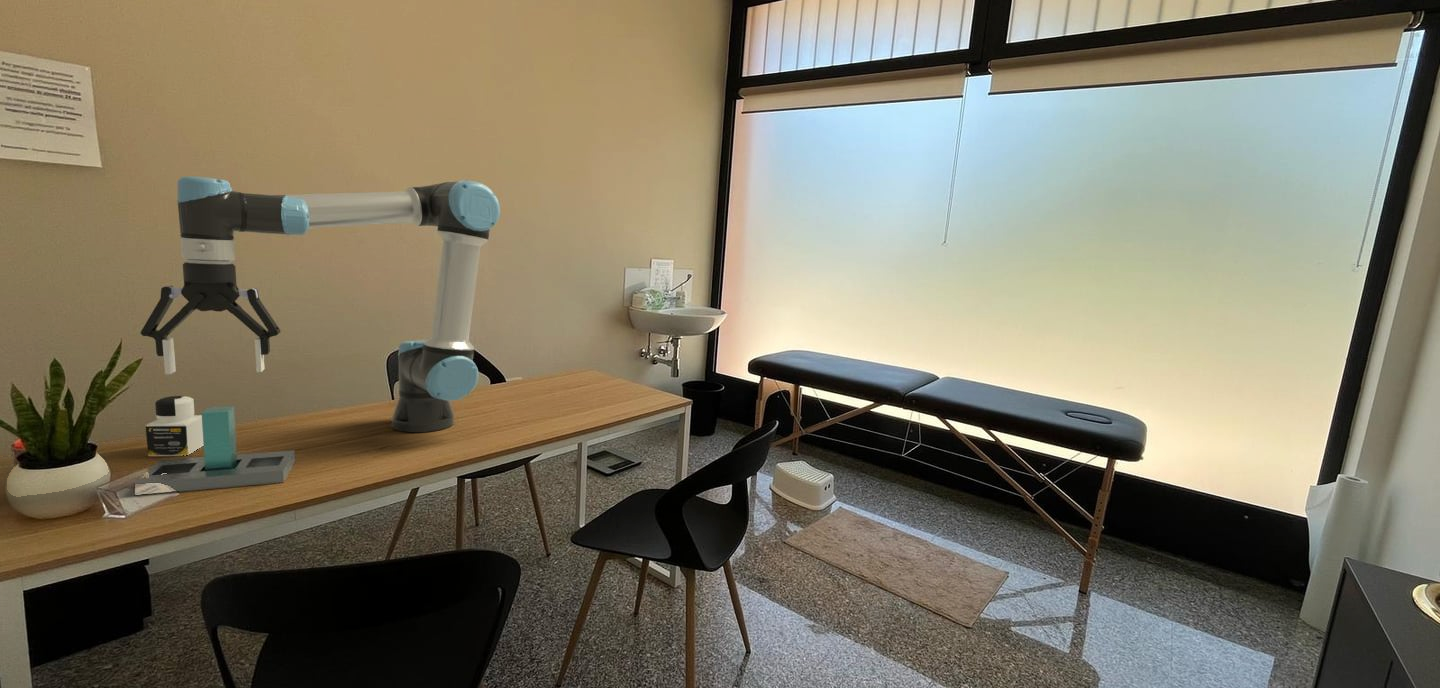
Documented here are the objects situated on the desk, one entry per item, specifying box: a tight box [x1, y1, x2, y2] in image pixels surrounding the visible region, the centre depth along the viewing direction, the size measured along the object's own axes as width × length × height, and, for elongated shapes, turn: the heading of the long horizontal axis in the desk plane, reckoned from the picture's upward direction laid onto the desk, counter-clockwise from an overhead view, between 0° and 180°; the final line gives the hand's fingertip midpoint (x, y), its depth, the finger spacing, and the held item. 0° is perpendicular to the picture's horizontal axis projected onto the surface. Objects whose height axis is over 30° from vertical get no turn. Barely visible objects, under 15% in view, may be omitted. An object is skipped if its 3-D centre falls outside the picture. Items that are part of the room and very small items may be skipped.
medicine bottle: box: [145, 395, 204, 457], centre depth 126 cm, size 7×7×12 cm
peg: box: [201, 405, 238, 471], centre depth 115 cm, size 4×4×14 cm
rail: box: [133, 450, 296, 493], centre depth 115 cm, size 22×12×2 cm, turn 117°
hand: (216, 371), depth 112 cm, fingers open, 13 cm apart
